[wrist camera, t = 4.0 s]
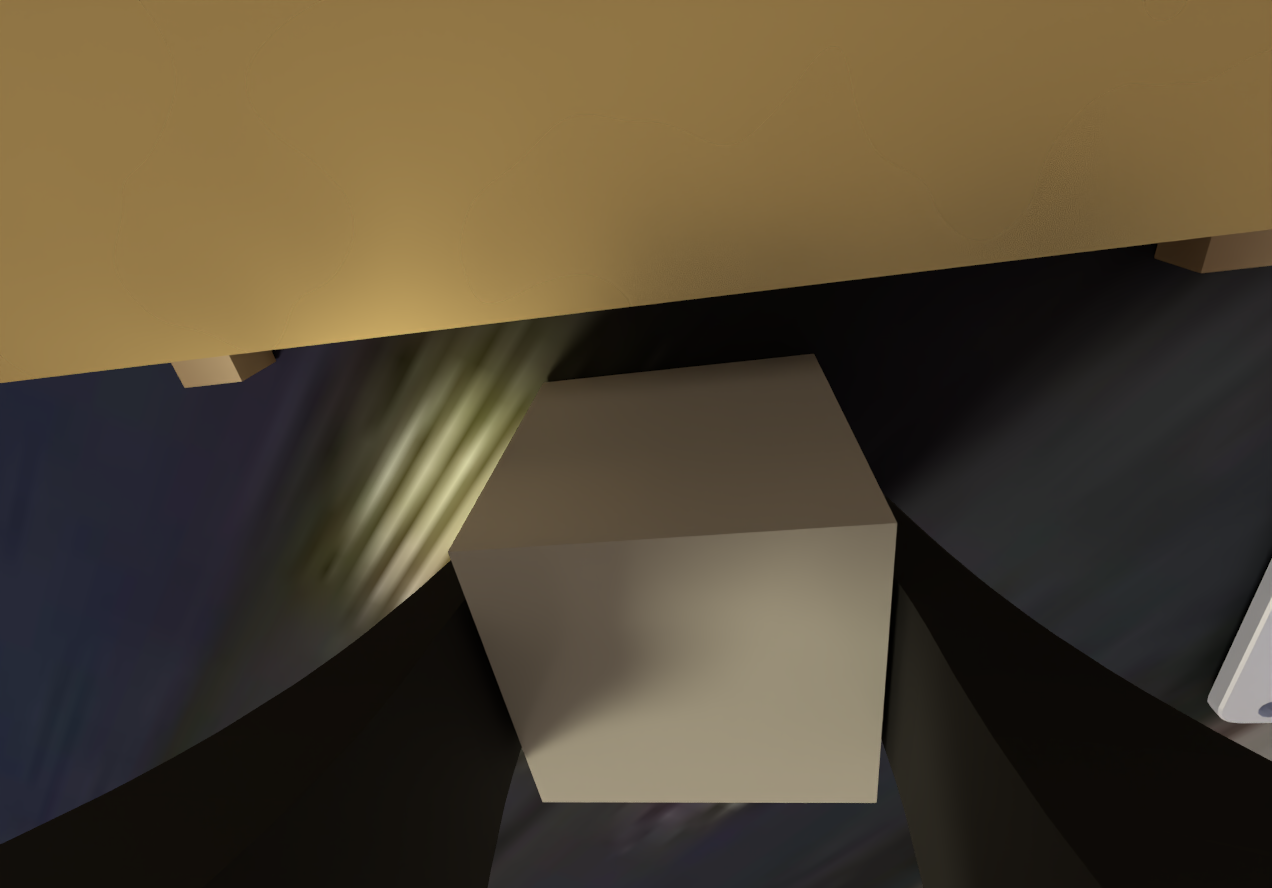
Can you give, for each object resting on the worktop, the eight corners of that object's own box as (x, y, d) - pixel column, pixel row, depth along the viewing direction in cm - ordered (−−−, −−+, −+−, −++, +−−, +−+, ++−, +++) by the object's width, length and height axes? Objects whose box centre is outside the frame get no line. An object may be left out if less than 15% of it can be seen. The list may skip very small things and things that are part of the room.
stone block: (813, 353, 11) (896, 522, 6) (815, 570, 13) (876, 802, 9) (542, 382, 11) (447, 551, 7) (591, 582, 14) (542, 801, 9)
